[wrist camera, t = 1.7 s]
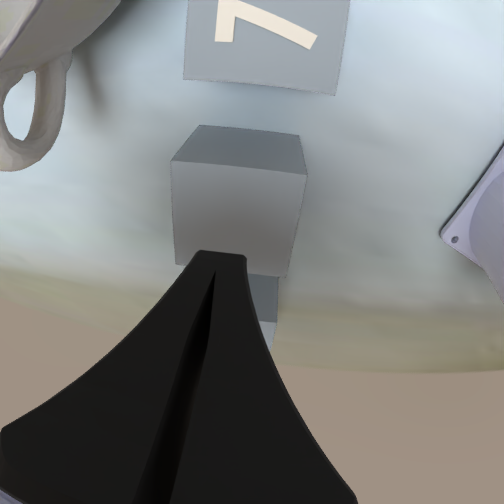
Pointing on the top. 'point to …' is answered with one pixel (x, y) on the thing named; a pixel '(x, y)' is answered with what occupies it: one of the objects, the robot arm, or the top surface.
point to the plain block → (238, 196)
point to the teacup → (41, 65)
